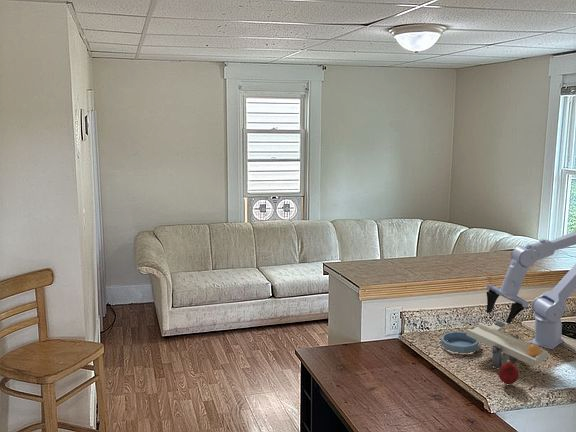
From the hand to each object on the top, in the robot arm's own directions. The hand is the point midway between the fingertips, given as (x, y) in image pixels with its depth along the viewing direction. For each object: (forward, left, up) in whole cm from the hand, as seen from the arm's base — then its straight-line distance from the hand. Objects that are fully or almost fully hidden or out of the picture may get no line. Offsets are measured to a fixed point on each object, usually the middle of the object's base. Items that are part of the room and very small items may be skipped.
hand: (498, 317), depth 194 cm
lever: (+3, +7, -6) cm, 9 cm away
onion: (+20, +15, -12) cm, 28 cm away
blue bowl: (+7, -10, -11) cm, 17 cm away
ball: (+7, +16, -4) cm, 18 cm away
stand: (+7, +7, -11) cm, 15 cm away
